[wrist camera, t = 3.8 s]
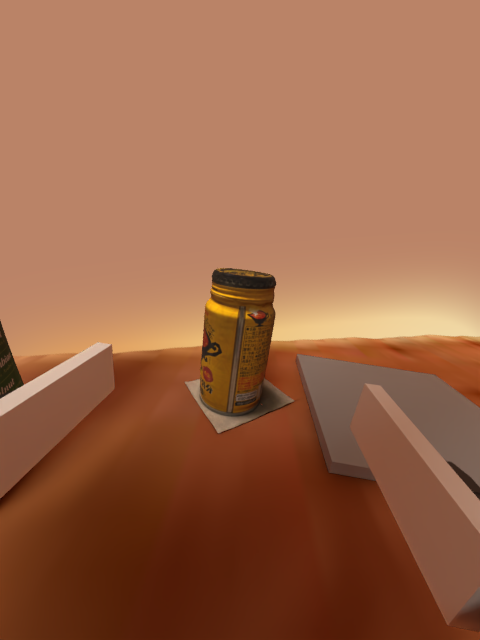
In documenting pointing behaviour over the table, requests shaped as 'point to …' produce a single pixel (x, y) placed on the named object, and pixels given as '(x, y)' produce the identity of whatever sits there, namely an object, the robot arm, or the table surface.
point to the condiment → (237, 350)
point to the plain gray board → (407, 392)
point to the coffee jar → (7, 367)
